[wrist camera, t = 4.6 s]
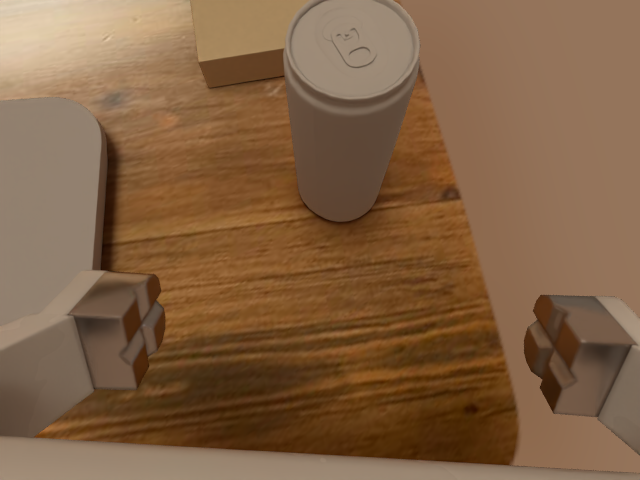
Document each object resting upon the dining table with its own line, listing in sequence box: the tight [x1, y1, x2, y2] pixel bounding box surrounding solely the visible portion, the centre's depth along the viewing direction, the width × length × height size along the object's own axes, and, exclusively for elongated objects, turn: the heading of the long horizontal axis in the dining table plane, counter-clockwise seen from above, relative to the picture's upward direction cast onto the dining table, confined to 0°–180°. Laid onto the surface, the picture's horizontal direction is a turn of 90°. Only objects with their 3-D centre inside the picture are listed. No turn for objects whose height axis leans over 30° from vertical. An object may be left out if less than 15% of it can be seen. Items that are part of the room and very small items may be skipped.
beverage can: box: [283, 0, 420, 222], centre depth 21 cm, size 5×5×12 cm
